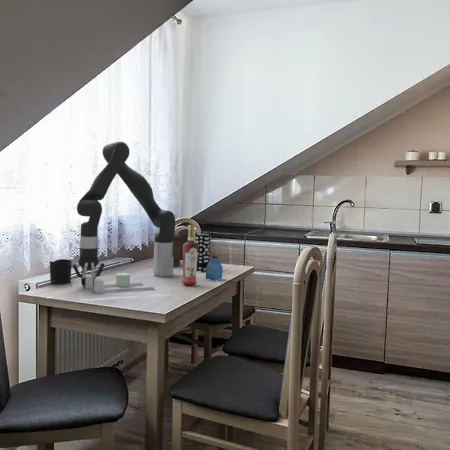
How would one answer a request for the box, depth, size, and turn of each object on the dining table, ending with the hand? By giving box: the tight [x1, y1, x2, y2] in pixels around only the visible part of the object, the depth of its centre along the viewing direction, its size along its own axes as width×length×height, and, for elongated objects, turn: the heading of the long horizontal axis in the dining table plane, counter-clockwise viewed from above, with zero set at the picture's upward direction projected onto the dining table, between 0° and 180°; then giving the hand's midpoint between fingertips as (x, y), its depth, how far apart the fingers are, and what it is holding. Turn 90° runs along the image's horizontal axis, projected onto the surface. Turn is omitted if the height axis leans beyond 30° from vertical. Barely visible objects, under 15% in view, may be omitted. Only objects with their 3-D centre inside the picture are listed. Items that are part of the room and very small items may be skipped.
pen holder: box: [49, 258, 73, 285], centre depth 219 cm, size 9×9×10 cm
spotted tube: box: [194, 233, 212, 273], centre depth 263 cm, size 8×8×20 cm
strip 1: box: [83, 274, 145, 290], centre depth 213 cm, size 26×6×6 cm, turn 115°
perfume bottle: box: [205, 254, 224, 281], centre depth 241 cm, size 6×6×12 cm
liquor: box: [181, 224, 198, 287], centre depth 224 cm, size 7×7×28 cm
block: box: [115, 272, 131, 288], centre depth 215 cm, size 5×5×5 cm
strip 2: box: [92, 278, 157, 295], centre depth 205 cm, size 26×6×6 cm, turn 115°
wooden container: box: [154, 232, 181, 268], centre depth 276 cm, size 15×15×22 cm
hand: (88, 286), depth 208 cm, fingers closed on strip 1, 3 cm apart
